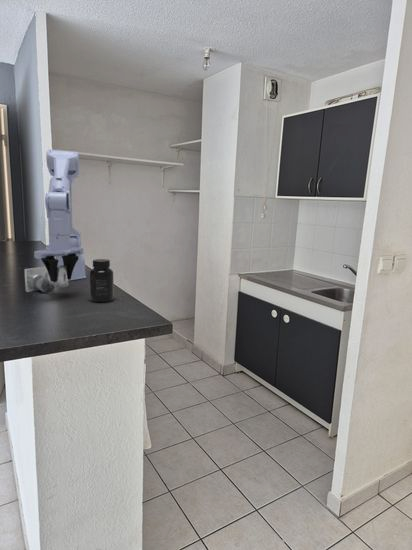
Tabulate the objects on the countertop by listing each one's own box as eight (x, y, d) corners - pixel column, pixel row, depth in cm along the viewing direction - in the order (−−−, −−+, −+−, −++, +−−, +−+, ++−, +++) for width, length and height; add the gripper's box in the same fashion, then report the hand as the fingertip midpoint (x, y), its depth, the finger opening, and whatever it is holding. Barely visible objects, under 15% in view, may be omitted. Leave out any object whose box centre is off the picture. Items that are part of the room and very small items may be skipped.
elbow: (71, 285, 112) (69, 265, 110) (58, 288, 109) (56, 267, 107) (57, 282, 117) (55, 263, 115) (44, 284, 114) (43, 265, 112)
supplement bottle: (118, 298, 114) (118, 259, 111) (105, 304, 108) (104, 263, 105) (98, 295, 116) (98, 257, 113) (85, 301, 110) (84, 260, 107)
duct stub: (25, 291, 117) (24, 269, 115) (49, 287, 123) (48, 266, 121) (36, 295, 113) (35, 272, 112) (60, 290, 119) (59, 269, 118)
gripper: (43, 237, 100) (45, 286, 103) (89, 234, 111) (89, 278, 114) (29, 234, 104) (31, 282, 107) (75, 232, 116) (76, 275, 118)
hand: (60, 280), depth 111 cm, fingers closed on elbow, 4 cm apart
